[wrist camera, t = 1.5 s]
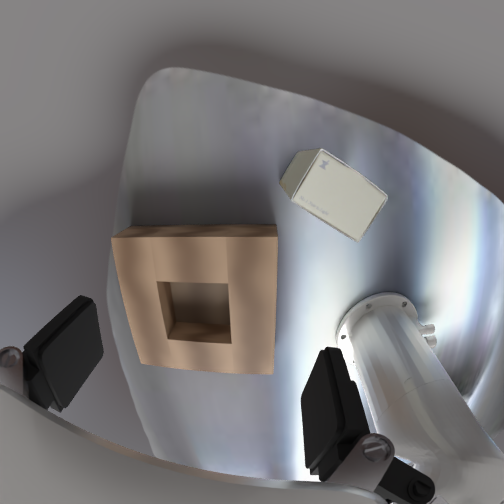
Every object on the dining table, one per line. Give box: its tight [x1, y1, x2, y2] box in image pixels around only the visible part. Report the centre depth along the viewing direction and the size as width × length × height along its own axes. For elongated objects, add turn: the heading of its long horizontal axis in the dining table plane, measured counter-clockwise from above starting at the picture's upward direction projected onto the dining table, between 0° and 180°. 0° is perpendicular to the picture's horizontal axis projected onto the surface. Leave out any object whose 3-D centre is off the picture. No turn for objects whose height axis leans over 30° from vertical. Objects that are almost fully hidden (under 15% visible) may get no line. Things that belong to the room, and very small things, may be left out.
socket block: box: [111, 224, 278, 374], centre depth 32 cm, size 18×18×5 cm
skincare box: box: [279, 148, 388, 243], centre depth 23 cm, size 6×4×12 cm
